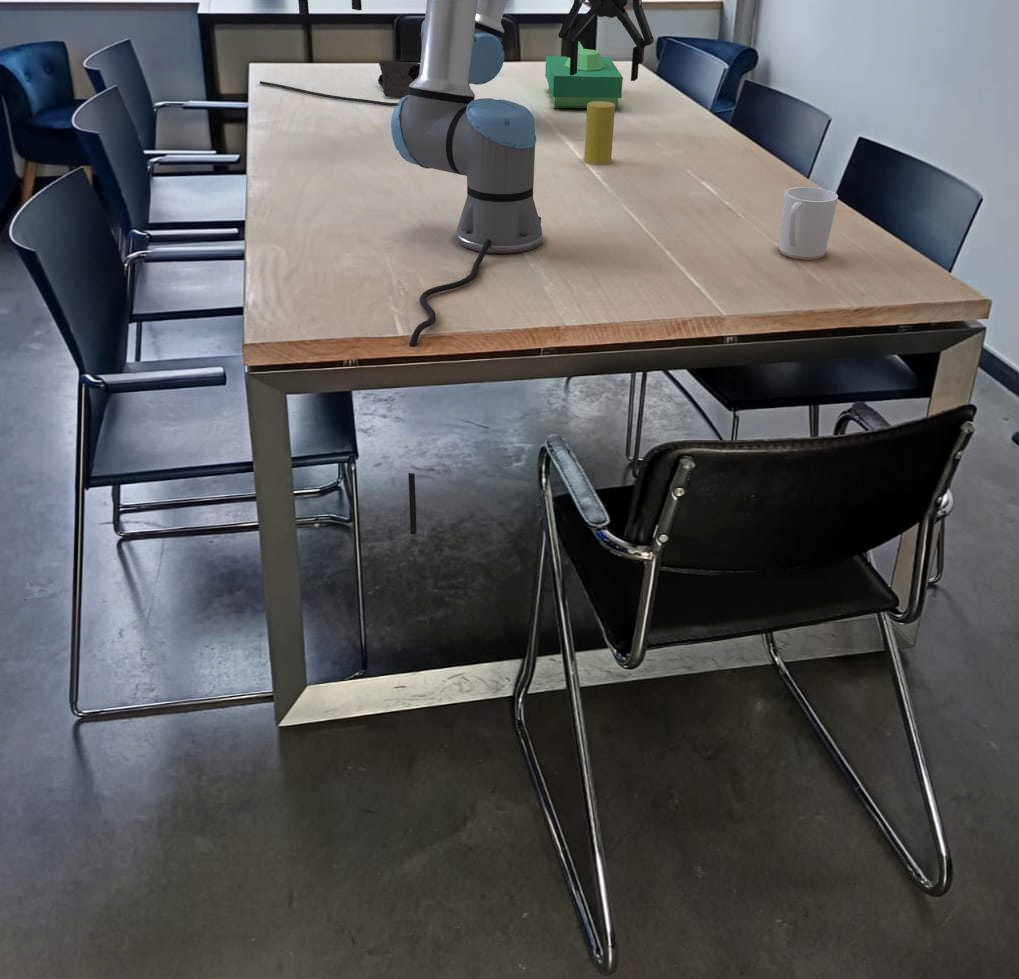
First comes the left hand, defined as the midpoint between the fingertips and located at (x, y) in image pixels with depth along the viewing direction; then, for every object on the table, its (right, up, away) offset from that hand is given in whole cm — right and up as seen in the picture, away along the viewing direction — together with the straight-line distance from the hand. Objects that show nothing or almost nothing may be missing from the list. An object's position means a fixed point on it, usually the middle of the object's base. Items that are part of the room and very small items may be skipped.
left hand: (330, 12), depth 239 cm
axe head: (+10, +5, +61) cm, 62 cm away
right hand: (+59, -16, -5) cm, 62 cm away
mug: (+90, -63, -46) cm, 119 cm away
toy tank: (+58, +3, +60) cm, 83 cm away
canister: (+59, -31, +4) cm, 67 cm away
